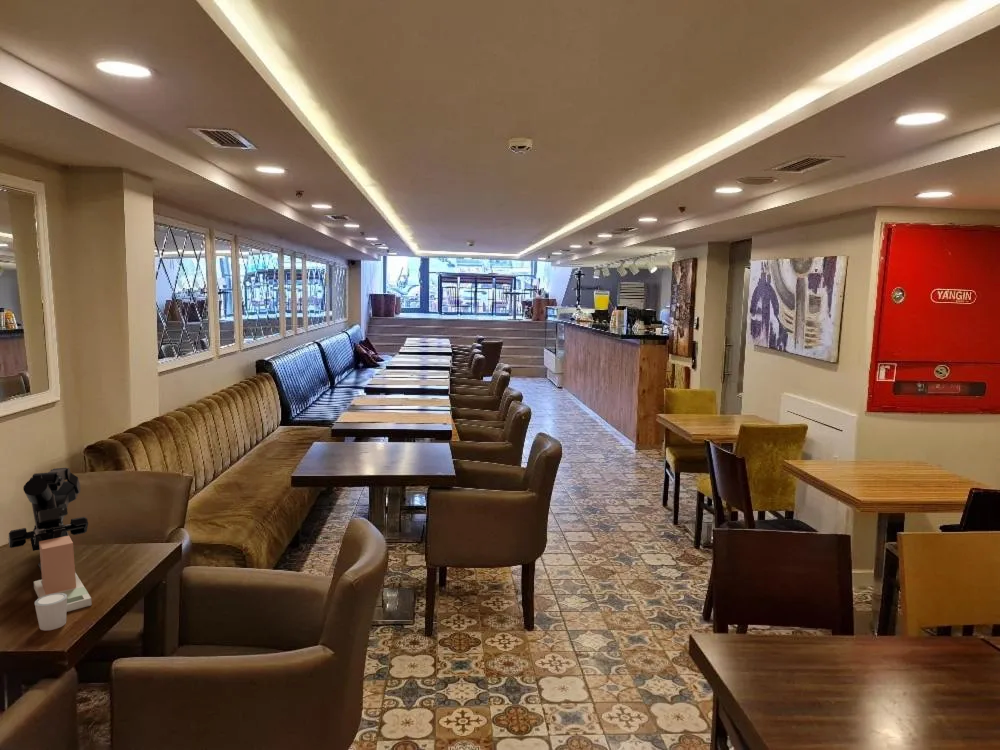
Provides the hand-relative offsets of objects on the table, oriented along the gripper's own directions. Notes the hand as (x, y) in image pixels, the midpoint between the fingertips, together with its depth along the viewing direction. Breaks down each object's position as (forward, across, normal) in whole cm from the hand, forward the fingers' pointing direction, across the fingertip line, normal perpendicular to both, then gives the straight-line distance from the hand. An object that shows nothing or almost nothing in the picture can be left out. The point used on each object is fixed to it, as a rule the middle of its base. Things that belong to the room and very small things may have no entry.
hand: (54, 557), depth 183 cm
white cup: (+24, -4, -11) cm, 26 cm away
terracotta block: (+9, 0, +1) cm, 9 cm away
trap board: (+12, 0, 0) cm, 12 cm away
